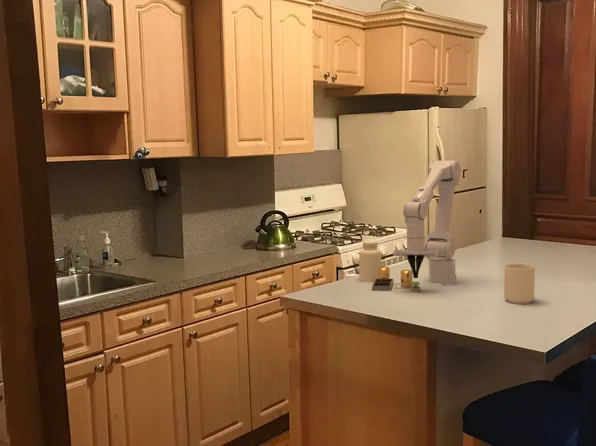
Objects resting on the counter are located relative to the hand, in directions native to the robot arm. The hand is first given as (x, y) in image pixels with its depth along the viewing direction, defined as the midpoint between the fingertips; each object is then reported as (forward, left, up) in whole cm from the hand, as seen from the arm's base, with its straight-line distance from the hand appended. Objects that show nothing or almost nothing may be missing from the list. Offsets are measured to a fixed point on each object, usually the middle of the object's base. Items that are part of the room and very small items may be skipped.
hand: (415, 277), depth 214 cm
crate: (+11, -5, -6) cm, 14 cm away
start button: (0, 0, -6) cm, 6 cm away
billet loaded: (+11, -8, -5) cm, 15 cm away
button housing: (0, 0, -6) cm, 6 cm away
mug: (-33, +5, -6) cm, 33 cm away
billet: (+3, -6, -5) cm, 9 cm away
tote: (+3, -6, -6) cm, 9 cm away
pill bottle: (+17, -16, -6) cm, 24 cm away
